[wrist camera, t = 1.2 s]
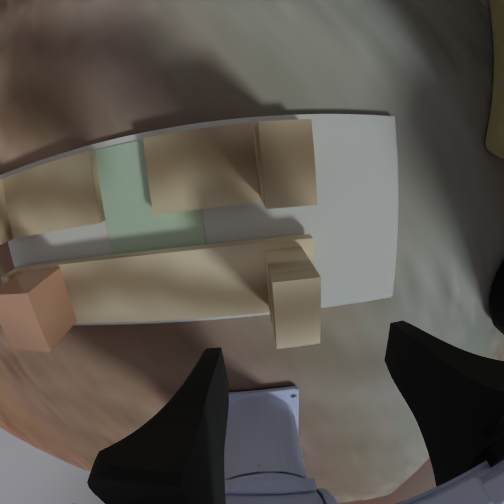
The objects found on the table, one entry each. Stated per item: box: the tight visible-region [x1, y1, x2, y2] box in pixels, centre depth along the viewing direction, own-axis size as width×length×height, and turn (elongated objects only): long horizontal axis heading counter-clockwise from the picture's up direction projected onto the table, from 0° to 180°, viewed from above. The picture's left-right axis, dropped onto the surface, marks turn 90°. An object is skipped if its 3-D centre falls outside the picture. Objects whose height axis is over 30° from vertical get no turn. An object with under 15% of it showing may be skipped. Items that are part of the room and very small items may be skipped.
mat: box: [0, 114, 398, 325], centre depth 20 cm, size 14×32×1 cm, turn 95°
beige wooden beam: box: [1, 234, 321, 349], centre depth 18 cm, size 5×24×6 cm, turn 95°
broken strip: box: [0, 119, 317, 245], centre depth 16 cm, size 5×24×6 cm, turn 95°
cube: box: [0, 268, 77, 353], centre depth 18 cm, size 4×4×4 cm
